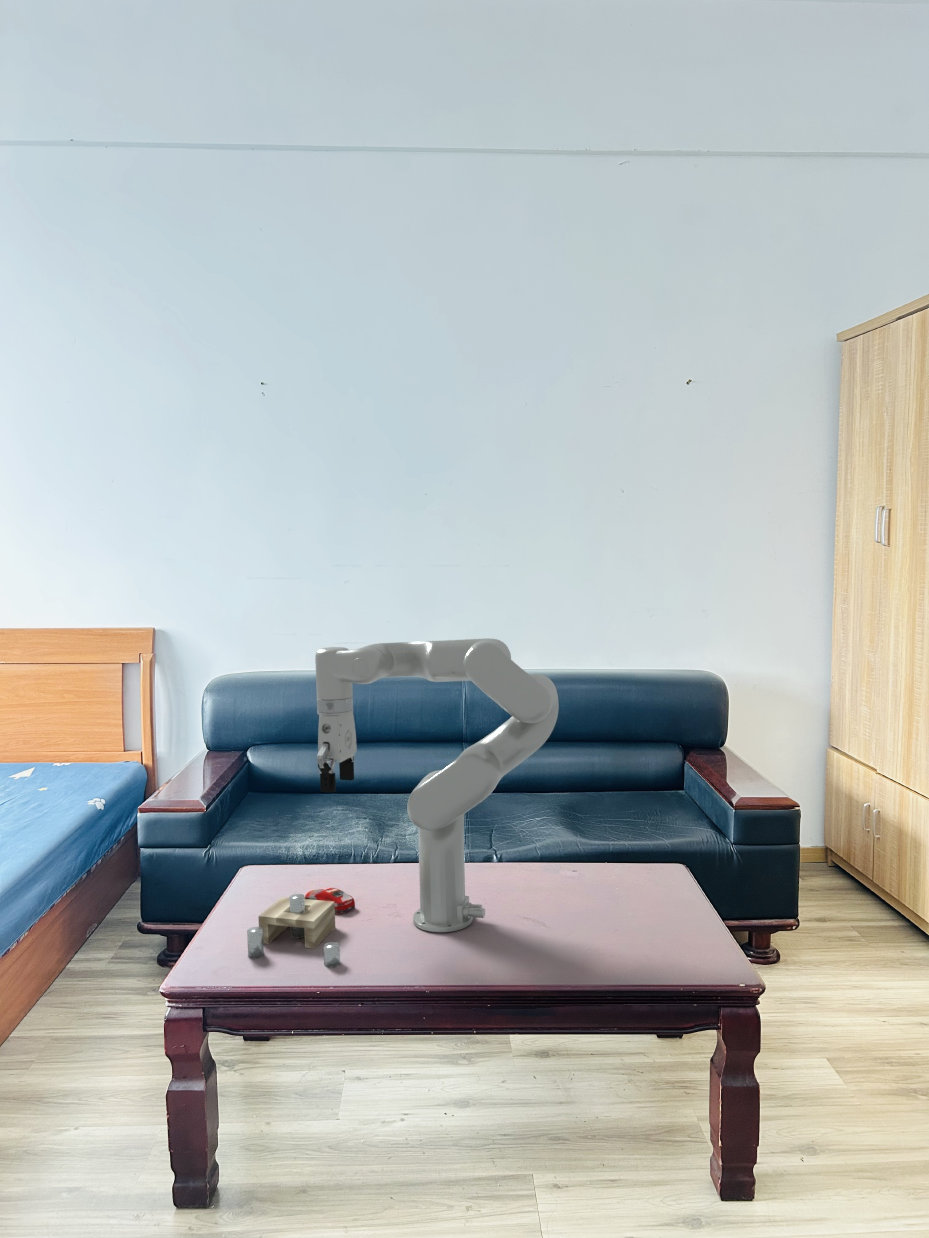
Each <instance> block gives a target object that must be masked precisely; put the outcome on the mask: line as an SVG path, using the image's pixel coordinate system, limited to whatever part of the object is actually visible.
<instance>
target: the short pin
mask: <svg viewBox="0 0 929 1238" xmlns="http://www.w3.org/2000/svg"><path fill="white" fill-rule="evenodd" d="M340 947H341V946H340V943H339V942H336V941H335V942H334V941H330V942H326V943H324V944H323V965H324V966H325V967H327V968H334V967H338V966H339V965H340V964H341V951H340V950H341V949H340Z"/></svg>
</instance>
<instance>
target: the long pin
mask: <svg viewBox="0 0 929 1238" xmlns="http://www.w3.org/2000/svg"><path fill="white" fill-rule="evenodd" d="M288 898H289V901H290V913H299V914H302V913H303V912H304V911H305V900H304V898H305V895H304V894H301V893H294V894H291V895H290V896H289V897H288ZM290 937H291V938H292V939H301V938H303V937H304V938H305V930H304V928H301V927H290Z"/></svg>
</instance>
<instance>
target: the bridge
mask: <svg viewBox="0 0 929 1238" xmlns="http://www.w3.org/2000/svg"><path fill="white" fill-rule="evenodd" d="M304 900H305V911H304V912H303V913H302V914H299V913H290V901H289V897H285V896H281V897H280V898H279V899H278V900H277V901H276V900H275V902H274V903H273V904H271V905H270V906H269V907H268V908H267V909H265V910H264V911H263V912H261V913H260V914H259V915H258V927H262V928H263V941H264V944H265V945H266V944H270V943H271V942H273V940H275V939H276V938H277V937H278V936H279V935H280V934H281V933H282V932H283V931H285V930H286V929H287V928H288V927H290V928H291V927H301V928H304V930H305V936H304V948H307V949H315V948H317V947H318V945H320V944H321V943H322V942H323V941H324V939H325V938H327V937H328V935H330V934H331V933H332V931H334V930H335V928H336V914H335V904H334V902H333V901H321V900H310V899H304Z"/></svg>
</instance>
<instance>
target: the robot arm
mask: <svg viewBox="0 0 929 1238" xmlns="http://www.w3.org/2000/svg"><path fill="white" fill-rule="evenodd" d="M315 652H316V653H315V656H314V657H315V682H316V683H315V684H316V686H315V688H316V712H317V713H316V714H317V715H318V716H319V717H318V727H317V728H318V732H317V735H318V737H317V739H318V740H317V744H318V745H317V749H318V753H317V754H316V761H317V768H318V773H319V779H320V781H319V783H320V784H319V785H320V786H319V788H320V792H322V793H335V792H336V791H337V789H336V788H337V786H336V772H334V770H335V767H336V763H338V765H339V767H338V769H339V779H340V781H354V779H355V755H356V753H357V751H358V747H357V746H358V745H357V744H358V743H357V733H356V732H357V731H356V724H355V723H356V722H355V716H354V697H353V696H354V695H353V694H354V693H353V690H354V689H353V684H358V685H368V684H372V683H374V682H376V681H377V682H378V680H380V679H382V678H391V677H392V678H394V677H395V678H396V677H416V678H423V679H426V680H427V681H429V682H434V683H441V682H442V683H443V682H444V683H447V682H470V681H471V682H472V683H473V684H474V685H475V686H476V688H478V689H480V690H481V692H483V693H484V694H485V695H486V696H487V697H488V698H489V699H491V700H492V701H493V702H494V703H496V704H497V705H498V706H499V707H500V708H501V709H503V710H504V711H505V712H506V713H508V714H509V715H510V716H511V717H510V718H509V719H507V720H506V721H505V722H503V723H502V724H501V725H500V726H498V727H497V728H496V729H495V730H494V731H492V732H490V733H489V734H488V735H486V736H484V738H481V739H480V740H479V741H477V742H475V743H474V744H472V745H470V746H468V747H466V748H465V749H464V750H463V751H462V752H461V753H460V754H459V755H458V756H457V758H456V759H455V760H453V761H452V762H451V763H448V765H447V766H444V768H443V769H438V770H434V771H431V772H430V773H428V774H426V775H425V776H424V777H422V779H421V780H420V781H419V783H418V784H417V785H416V786H415V787H414V789H413V790H412V792H411V793H410V795H409V796H408V800H407V805H406V808H407V810H406V811H407V815H408V818H409V820H410V821H411V823H412V824H413V825H414V826H416V827H417V828H418V830H417V831H418V866H419V867H418V868H419V869H418V871H419V872H418V873H419V903H420V907H419V909H417V910H416V911H415V912H414V914H413V916H412V919H413V920H412V921H413V924H414V926H416V927H417V928H419V929H420V930H423V931H426V932H431V933H450V932H456V931H460V930H463V929H466V928H467V927H469V926H470V925H471V924H472V923H473V921H474V918H478V919H484V918H485V917H486V909H485V908H484V907H483V904H479V903H478V904H477V903H476V904H475V903H474V904H472V902H470V896H469V895H466V880H465V879H466V877H465V875H466V873H465V814H467V812H469V811H471V810H472V809H473V808H475V807H476V806H478V805H480V804H481V803H482V802H483V801H484V800H485V799H487V798H488V797H489V796H490V795H492V793H493V791H494V790H495V789H496V787H497V785H498V784H499V782H500V781H501V780H502V778H503V777H504V776H505V775H506V774H508V773H509V772H511V771H512V770H514V769H515V768H516V767H518V766H519V765H520V764H522V763H523V762H524V761H526V760H527V759H528V758H529V757H531V756H532V755H533V754H534V753H535V752H537V751H538V750H539V749H540V748H541V747H542V746H543V745H544V744H545V743H546V741H548V739H549V738H550V736H551V734H552V732H553V731H554V729H555V726H556V723H557V720H558V715H559V708H560V707H559V695H558V691H557V688H556V685H555V684H554V681H552V680H551V678H550V677H548V676H546V675H545V674H540V673H531V674H529V673H528V672H526V671H525V670H524V669H523V668H522V667H521V666H519V665H518V664H517V663H516V662H515V661H514V660H513V659H512V656H511V655H512V654H511V651H510V649H509V647H508V645H507V644H506V643H504V641H502V640H500V639H497V638H469V639H468V638H467V639H451V640H450V639H447V640H426V641H404V642H403V641H402V642H379V643H371V644H368V645H366V646H363V647H359V648H355V649H349V648H347V647H343V646H342V647H341V646H329V647H322V648H319V649H318V650H316V651H315ZM329 764H330V765H329Z"/></svg>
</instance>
